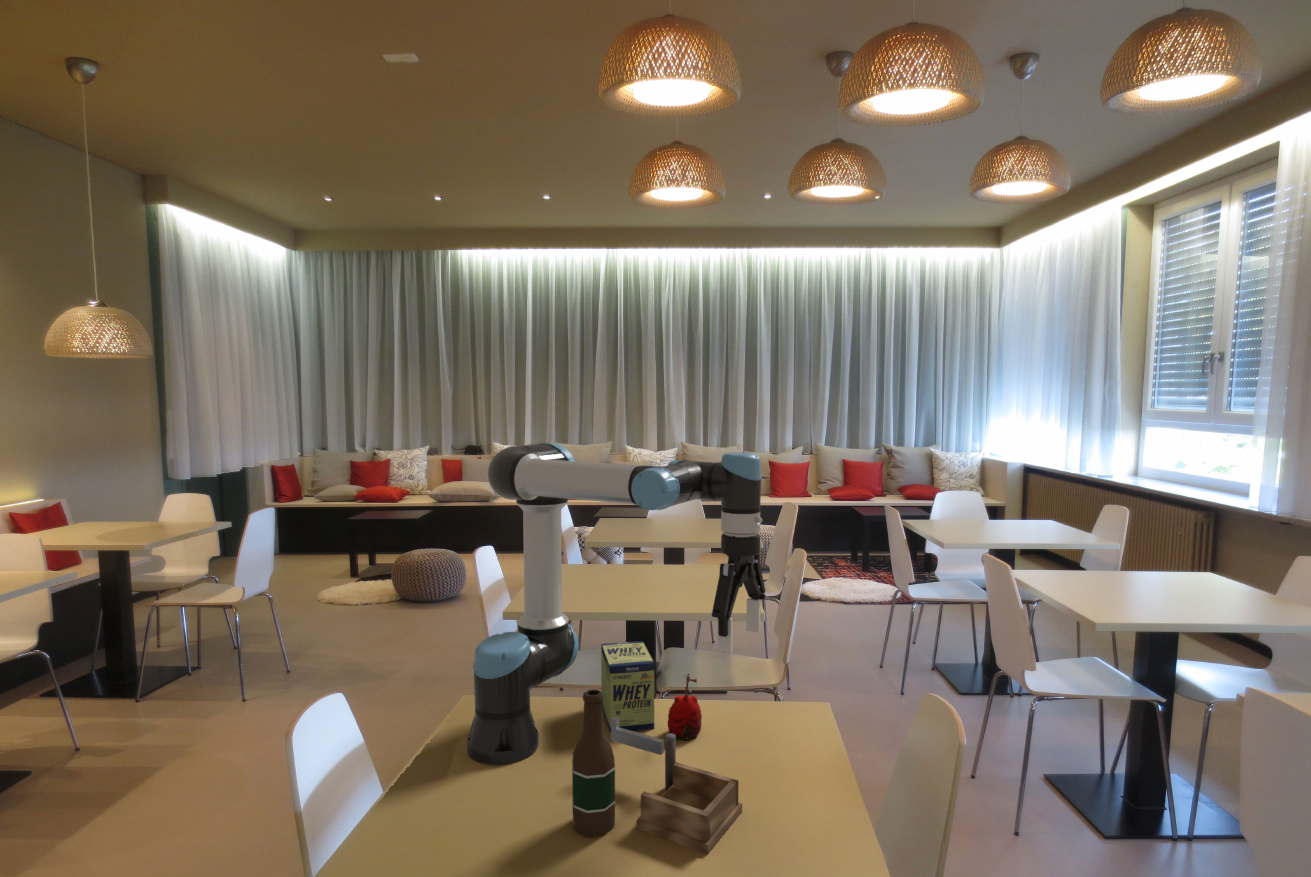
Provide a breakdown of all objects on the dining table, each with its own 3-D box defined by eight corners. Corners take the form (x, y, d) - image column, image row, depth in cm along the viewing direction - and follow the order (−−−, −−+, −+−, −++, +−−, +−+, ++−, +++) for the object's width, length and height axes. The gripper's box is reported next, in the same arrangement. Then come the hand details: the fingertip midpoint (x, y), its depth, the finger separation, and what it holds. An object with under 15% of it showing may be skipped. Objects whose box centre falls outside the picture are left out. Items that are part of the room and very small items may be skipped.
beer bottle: (609, 841, 122) (608, 703, 121) (565, 835, 124) (564, 699, 122) (620, 815, 130) (620, 685, 128) (579, 810, 131) (578, 681, 130)
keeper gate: (611, 740, 144) (611, 718, 144) (614, 738, 145) (614, 716, 145) (660, 755, 138) (660, 732, 138) (663, 752, 139) (663, 729, 139)
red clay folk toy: (698, 726, 164) (698, 662, 163) (704, 741, 157) (705, 674, 156) (665, 728, 163) (665, 664, 162) (670, 743, 156) (670, 676, 155)
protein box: (609, 734, 161) (609, 666, 160) (600, 704, 176) (600, 642, 175) (655, 729, 163) (655, 662, 162) (642, 701, 178) (642, 639, 177)
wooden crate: (626, 824, 127) (626, 767, 126) (668, 785, 140) (668, 732, 139) (708, 854, 119) (708, 792, 118) (744, 809, 131) (744, 753, 131)
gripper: (731, 547, 125) (730, 665, 127) (782, 524, 147) (780, 626, 148) (693, 542, 129) (693, 657, 131) (748, 521, 151) (747, 620, 152)
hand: (739, 641), depth 139 cm, fingers open, 13 cm apart
